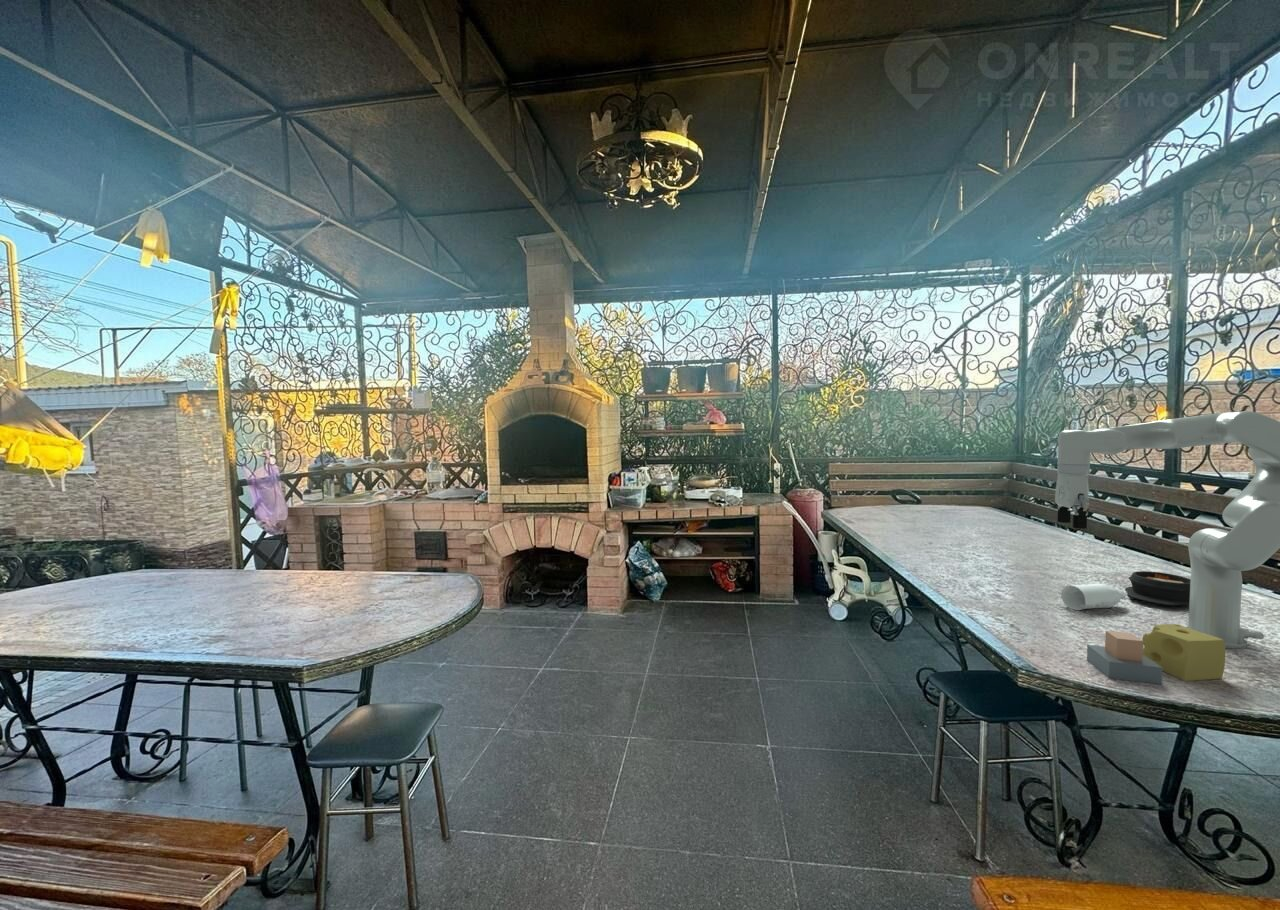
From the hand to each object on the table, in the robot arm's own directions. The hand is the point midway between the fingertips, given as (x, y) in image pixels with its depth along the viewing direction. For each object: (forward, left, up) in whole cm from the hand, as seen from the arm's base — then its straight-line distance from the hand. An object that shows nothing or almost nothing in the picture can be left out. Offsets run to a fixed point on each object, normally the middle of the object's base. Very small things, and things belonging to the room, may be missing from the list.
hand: (1071, 525), depth 154 cm
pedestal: (+3, +35, -30) cm, 46 cm away
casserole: (-40, -33, -31) cm, 60 cm away
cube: (+3, +35, -26) cm, 44 cm away
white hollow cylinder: (-14, -18, -31) cm, 38 cm away
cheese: (-11, +30, -31) cm, 44 cm away
